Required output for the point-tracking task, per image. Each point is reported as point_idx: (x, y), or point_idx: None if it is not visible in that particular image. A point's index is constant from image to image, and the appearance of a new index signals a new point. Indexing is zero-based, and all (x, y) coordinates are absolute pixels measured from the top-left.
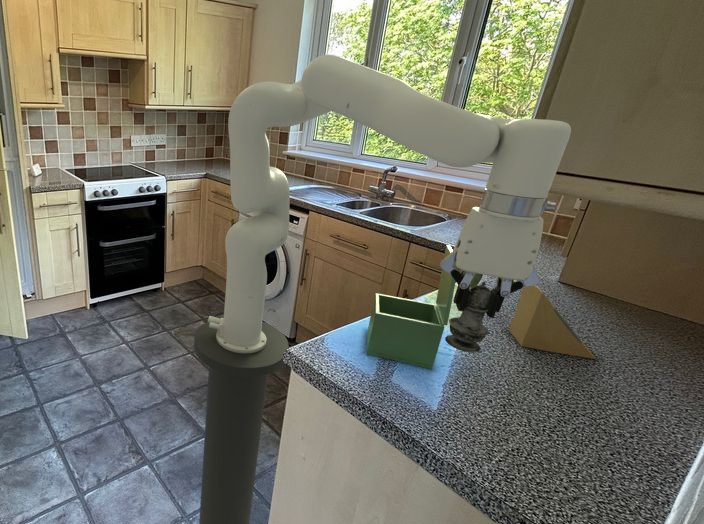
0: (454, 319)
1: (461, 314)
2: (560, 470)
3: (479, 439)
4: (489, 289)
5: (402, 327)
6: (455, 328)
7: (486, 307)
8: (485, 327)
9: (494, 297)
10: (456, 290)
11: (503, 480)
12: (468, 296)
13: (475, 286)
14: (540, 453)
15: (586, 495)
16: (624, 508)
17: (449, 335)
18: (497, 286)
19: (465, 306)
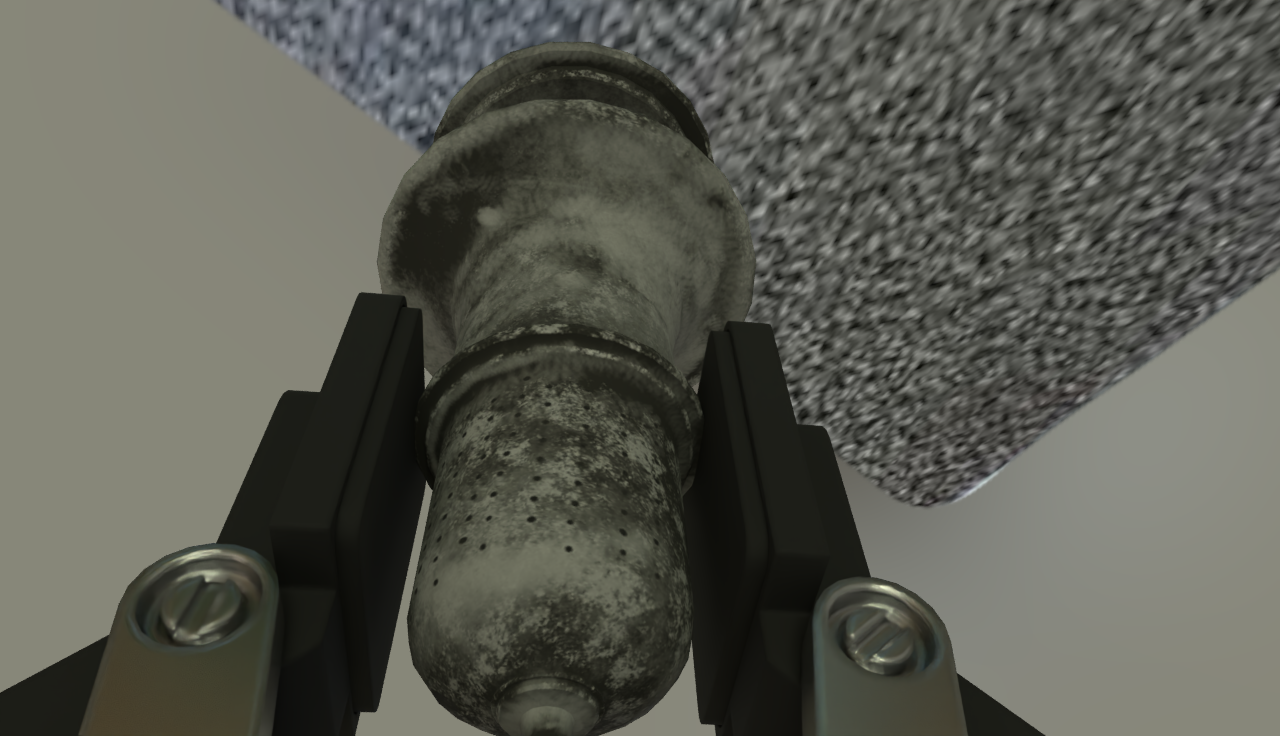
0: (431, 232)
1: (458, 328)
2: (1032, 170)
3: (754, 86)
4: (666, 669)
5: None
6: (427, 367)
7: (680, 466)
8: (738, 261)
9: (702, 689)
10: (242, 494)
11: (757, 294)
12: (387, 648)
13: (446, 685)
14: (1012, 88)
15: (1042, 269)
16: (1142, 285)
17: (474, 93)
18: (799, 690)
19: (432, 483)
